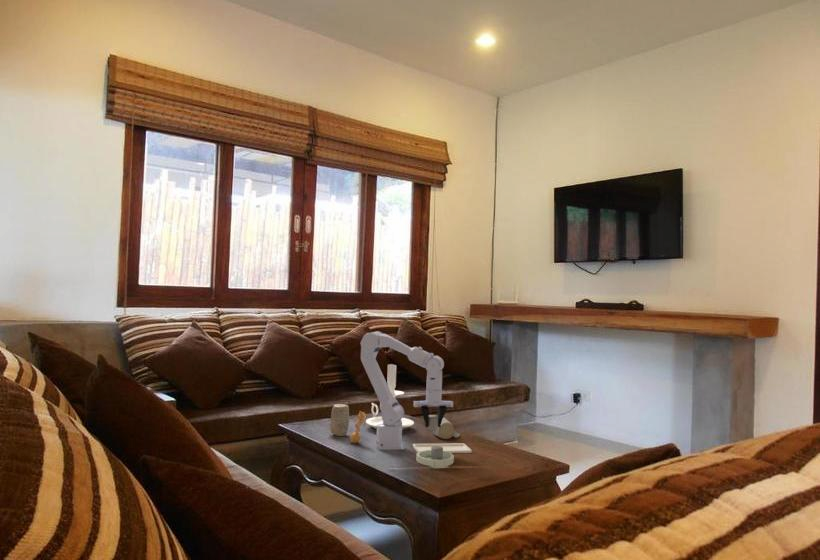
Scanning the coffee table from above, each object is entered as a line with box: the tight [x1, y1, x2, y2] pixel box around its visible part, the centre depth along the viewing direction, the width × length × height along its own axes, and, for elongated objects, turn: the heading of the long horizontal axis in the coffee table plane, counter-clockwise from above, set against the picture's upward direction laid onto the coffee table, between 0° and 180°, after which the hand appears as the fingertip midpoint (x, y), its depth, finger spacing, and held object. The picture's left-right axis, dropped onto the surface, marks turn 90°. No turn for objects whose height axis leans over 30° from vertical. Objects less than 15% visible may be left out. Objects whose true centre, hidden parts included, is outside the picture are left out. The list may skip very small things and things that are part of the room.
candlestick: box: [365, 364, 415, 431], centre depth 245 cm, size 21×25×28 cm
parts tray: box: [412, 442, 473, 454], centre depth 212 cm, size 20×10×1 cm, turn 101°
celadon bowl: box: [415, 450, 455, 469], centre depth 197 cm, size 13×13×3 cm
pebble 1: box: [426, 414, 439, 432], centre depth 210 cm, size 4×4×5 cm
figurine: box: [349, 410, 368, 444], centre depth 219 cm, size 8×6×12 cm
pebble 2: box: [431, 446, 443, 460], centre depth 195 cm, size 4×4×5 cm
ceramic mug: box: [432, 417, 461, 440], centre depth 232 cm, size 11×8×8 cm
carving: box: [329, 403, 350, 437], centre depth 230 cm, size 6×8×12 cm
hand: (432, 426), depth 210 cm, fingers closed on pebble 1, 4 cm apart
